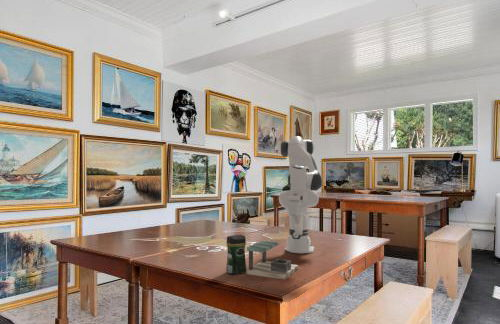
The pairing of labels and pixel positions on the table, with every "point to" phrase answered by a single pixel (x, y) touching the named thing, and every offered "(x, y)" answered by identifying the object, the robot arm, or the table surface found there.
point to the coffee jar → (236, 254)
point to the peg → (299, 225)
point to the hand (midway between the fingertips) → (298, 223)
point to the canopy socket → (266, 268)
